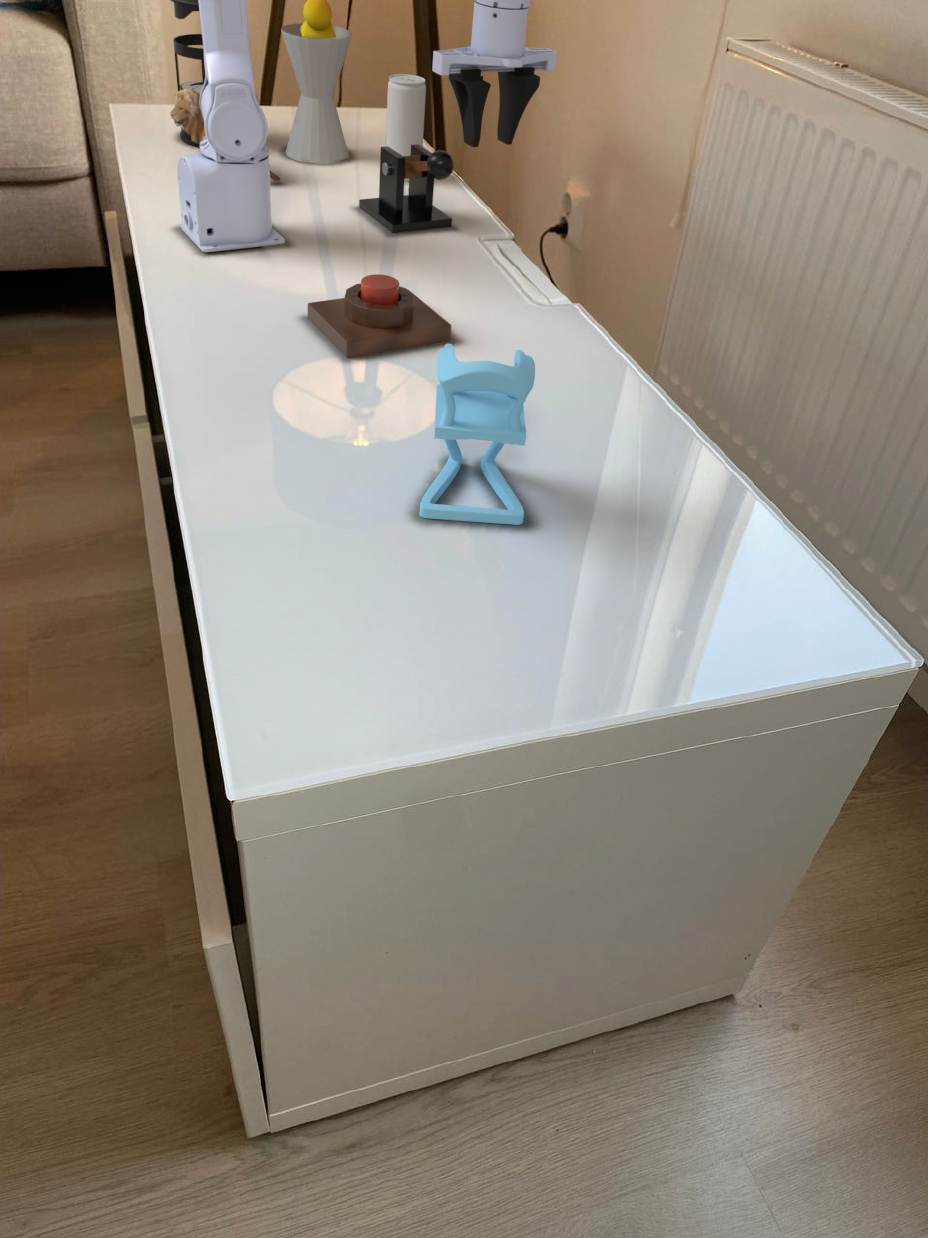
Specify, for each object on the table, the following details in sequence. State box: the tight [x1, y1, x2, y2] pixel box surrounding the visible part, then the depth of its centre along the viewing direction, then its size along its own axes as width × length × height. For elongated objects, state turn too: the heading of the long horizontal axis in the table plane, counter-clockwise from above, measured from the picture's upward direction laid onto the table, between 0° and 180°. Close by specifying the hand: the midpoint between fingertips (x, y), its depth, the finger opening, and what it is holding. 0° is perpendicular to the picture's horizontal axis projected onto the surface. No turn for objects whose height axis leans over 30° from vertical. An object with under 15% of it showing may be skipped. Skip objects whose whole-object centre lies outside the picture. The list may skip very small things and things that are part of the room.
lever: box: [404, 149, 455, 181], centre depth 115 cm, size 11×3×3 cm, turn 30°
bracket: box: [358, 144, 453, 234], centre depth 119 cm, size 9×8×8 cm
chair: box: [419, 343, 536, 526], centre depth 73 cm, size 8×8×12 cm
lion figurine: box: [169, 89, 282, 182], centre depth 126 cm, size 15×5×9 cm, turn 70°
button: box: [360, 273, 400, 305], centre depth 95 cm, size 4×4×2 cm
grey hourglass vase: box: [280, 0, 353, 163], centre depth 127 cm, size 9×9×35 cm
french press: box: [170, 0, 205, 148], centre depth 132 cm, size 12×9×23 cm
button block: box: [307, 282, 452, 359], centre depth 96 cm, size 11×9×4 cm
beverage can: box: [385, 73, 427, 183], centre depth 130 cm, size 5×5×12 cm
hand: (487, 143), depth 113 cm, fingers open, 4 cm apart
